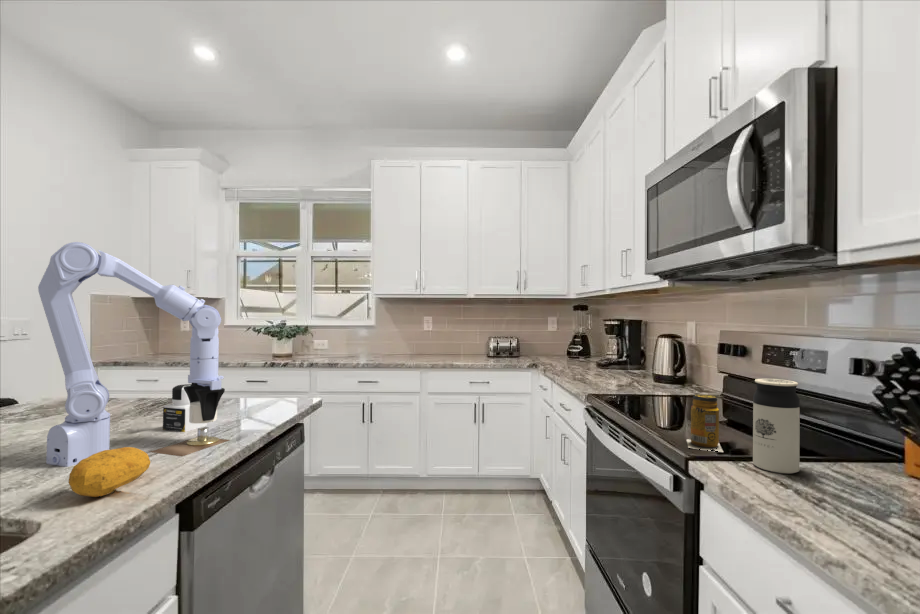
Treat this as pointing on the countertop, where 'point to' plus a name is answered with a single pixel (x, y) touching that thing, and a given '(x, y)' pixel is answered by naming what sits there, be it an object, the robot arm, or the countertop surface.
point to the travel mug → (776, 426)
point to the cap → (197, 413)
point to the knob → (202, 438)
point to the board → (184, 448)
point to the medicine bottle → (179, 412)
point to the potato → (108, 471)
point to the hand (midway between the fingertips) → (203, 418)
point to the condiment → (704, 423)
